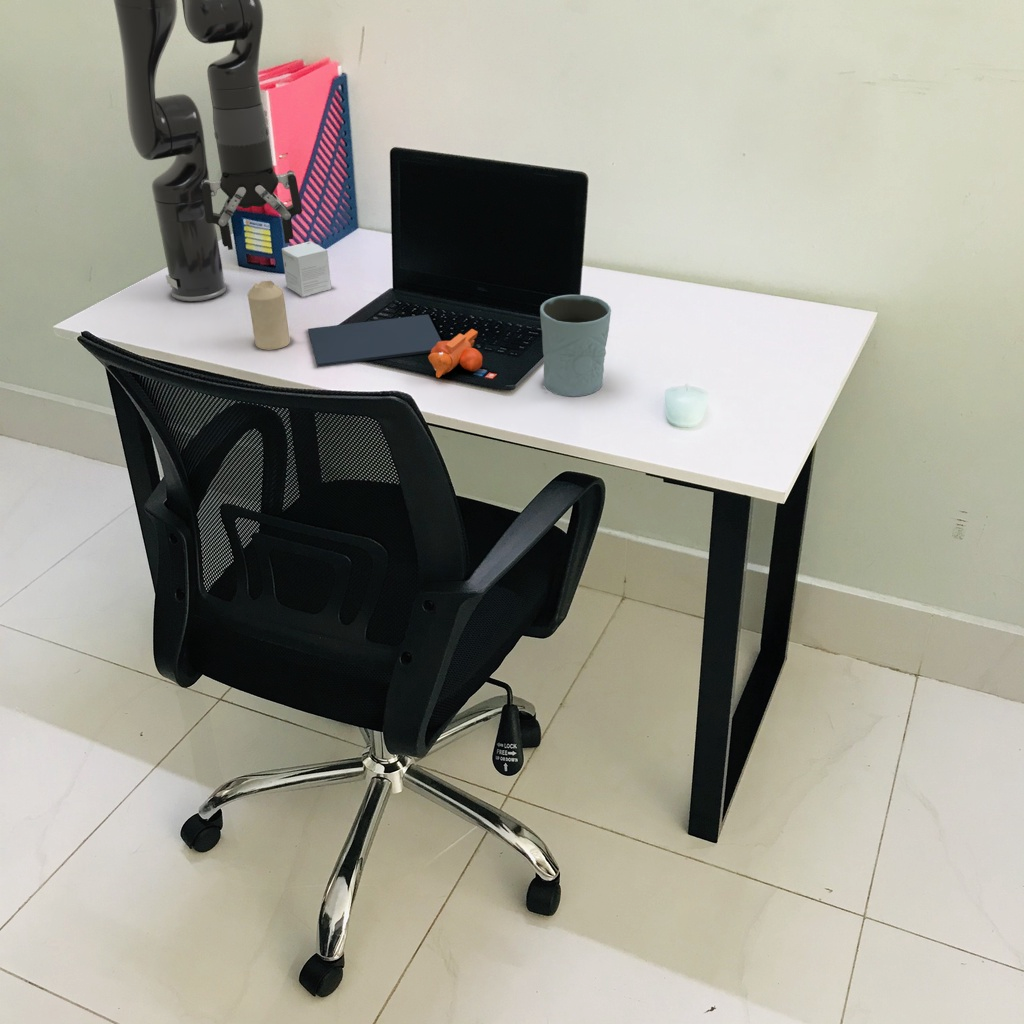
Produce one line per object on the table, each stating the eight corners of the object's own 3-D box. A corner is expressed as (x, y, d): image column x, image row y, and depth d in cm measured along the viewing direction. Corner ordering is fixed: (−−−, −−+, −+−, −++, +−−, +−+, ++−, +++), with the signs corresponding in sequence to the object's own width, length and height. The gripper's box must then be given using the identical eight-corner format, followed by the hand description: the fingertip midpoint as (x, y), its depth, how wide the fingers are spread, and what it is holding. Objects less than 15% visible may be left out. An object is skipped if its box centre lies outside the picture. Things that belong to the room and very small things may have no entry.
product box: (285, 287, 199) (280, 247, 195) (316, 279, 202) (311, 240, 198) (302, 297, 195) (296, 257, 191) (332, 289, 198) (328, 249, 194)
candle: (282, 351, 177) (274, 291, 171) (250, 349, 178) (240, 289, 172) (295, 337, 181) (287, 278, 176) (263, 335, 182) (254, 276, 177)
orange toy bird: (461, 315, 172) (423, 345, 163) (503, 337, 171) (466, 369, 162) (454, 342, 176) (415, 373, 167) (494, 364, 174) (458, 396, 165)
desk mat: (308, 331, 183) (308, 328, 183) (428, 317, 187) (428, 314, 187) (317, 366, 171) (317, 363, 171) (445, 350, 175) (445, 347, 175)
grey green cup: (560, 363, 171) (561, 289, 164) (620, 377, 166) (623, 301, 160) (527, 390, 163) (526, 313, 157) (589, 405, 159) (591, 327, 152)
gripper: (289, 126, 166) (303, 232, 175) (191, 134, 163) (210, 242, 172) (294, 138, 160) (308, 248, 169) (192, 147, 157) (211, 258, 166)
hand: (258, 245), depth 170 cm, fingers open, 8 cm apart
